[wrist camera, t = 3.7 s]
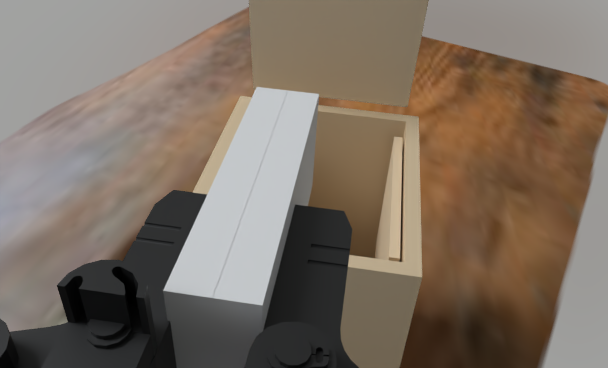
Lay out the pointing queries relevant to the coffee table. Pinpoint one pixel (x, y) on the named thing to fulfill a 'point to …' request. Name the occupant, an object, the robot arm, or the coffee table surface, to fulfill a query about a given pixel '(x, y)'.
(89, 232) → the coffee table surface
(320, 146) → the carton
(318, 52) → the front flap
